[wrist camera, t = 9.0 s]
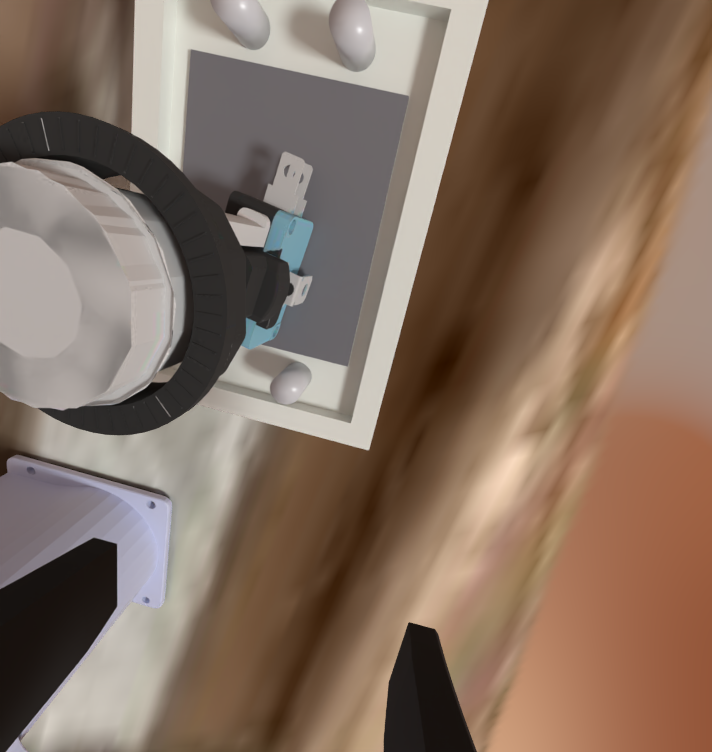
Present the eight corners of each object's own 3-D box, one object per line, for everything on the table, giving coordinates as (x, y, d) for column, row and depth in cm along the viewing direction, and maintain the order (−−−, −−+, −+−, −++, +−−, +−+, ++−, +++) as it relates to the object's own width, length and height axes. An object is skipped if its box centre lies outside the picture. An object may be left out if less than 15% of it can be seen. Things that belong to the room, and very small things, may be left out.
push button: (242, 137, 14) (-141, -119, 5) (378, 196, 14) (272, 56, 4) (196, 309, 16) (-129, 378, 7) (313, 362, 16) (147, 512, 6)
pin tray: (156, 370, 19) (106, 394, 16) (178, -45, 14) (110, -130, 11) (373, 427, 19) (365, 463, 15) (482, 15, 13) (504, -55, 10)
